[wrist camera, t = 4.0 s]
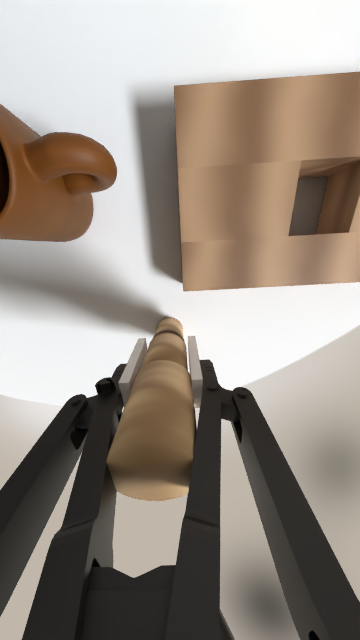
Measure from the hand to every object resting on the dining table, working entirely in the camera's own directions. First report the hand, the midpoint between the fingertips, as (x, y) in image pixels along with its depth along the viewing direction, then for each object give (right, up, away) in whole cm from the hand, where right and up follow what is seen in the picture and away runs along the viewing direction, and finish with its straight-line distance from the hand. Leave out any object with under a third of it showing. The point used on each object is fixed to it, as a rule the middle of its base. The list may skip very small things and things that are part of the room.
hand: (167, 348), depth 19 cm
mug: (-9, +15, -1) cm, 18 cm away
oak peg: (0, +2, +4) cm, 5 cm away
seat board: (+13, +14, -1) cm, 20 cm away
